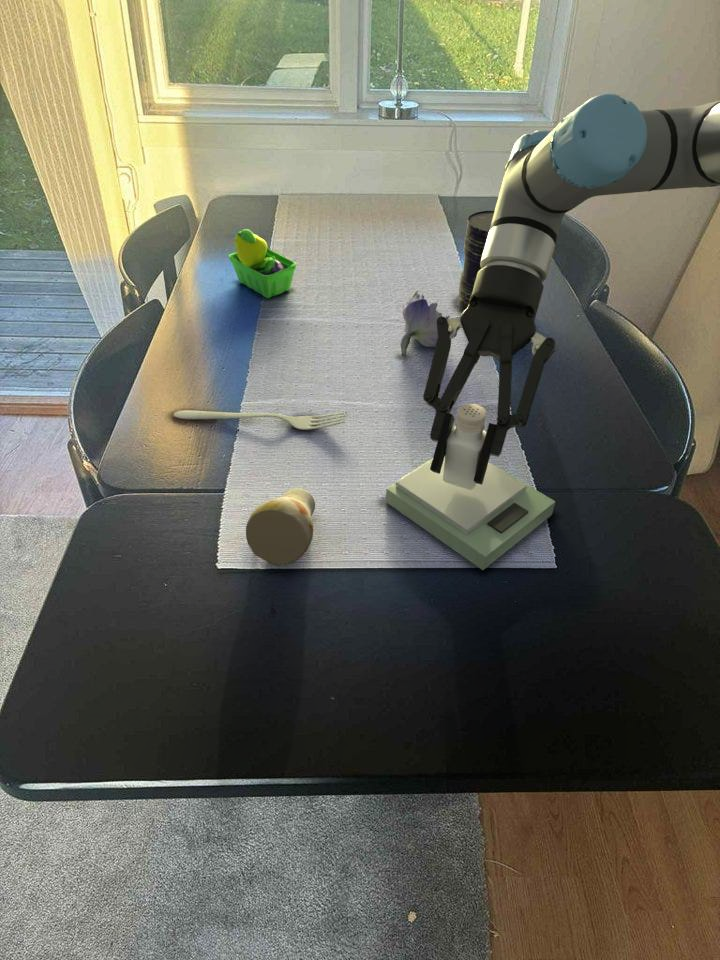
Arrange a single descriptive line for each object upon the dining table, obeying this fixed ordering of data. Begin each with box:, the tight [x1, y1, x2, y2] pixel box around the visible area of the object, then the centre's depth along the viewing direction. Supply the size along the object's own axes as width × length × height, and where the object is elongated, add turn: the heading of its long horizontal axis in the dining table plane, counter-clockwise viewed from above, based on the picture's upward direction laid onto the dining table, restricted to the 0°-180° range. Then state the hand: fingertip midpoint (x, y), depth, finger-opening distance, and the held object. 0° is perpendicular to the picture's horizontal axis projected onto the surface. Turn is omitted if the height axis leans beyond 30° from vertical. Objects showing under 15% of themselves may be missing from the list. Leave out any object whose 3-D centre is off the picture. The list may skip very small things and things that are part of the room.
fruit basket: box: [228, 228, 298, 299], centre depth 124 cm, size 11×9×11 cm
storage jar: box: [457, 210, 495, 313], centre depth 119 cm, size 10×10×15 cm
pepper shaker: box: [443, 403, 487, 490], centre depth 79 cm, size 4×4×10 cm
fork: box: [173, 409, 349, 431], centre depth 96 cm, size 3×24×2 cm, turn 84°
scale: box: [385, 457, 556, 571], centre depth 83 cm, size 15×13×3 cm
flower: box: [400, 289, 452, 358], centre depth 110 cm, size 9×9×10 cm
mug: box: [245, 487, 316, 566], centre depth 77 cm, size 8×10×10 cm
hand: (456, 476), depth 77 cm, fingers closed on pepper shaker, 4 cm apart
